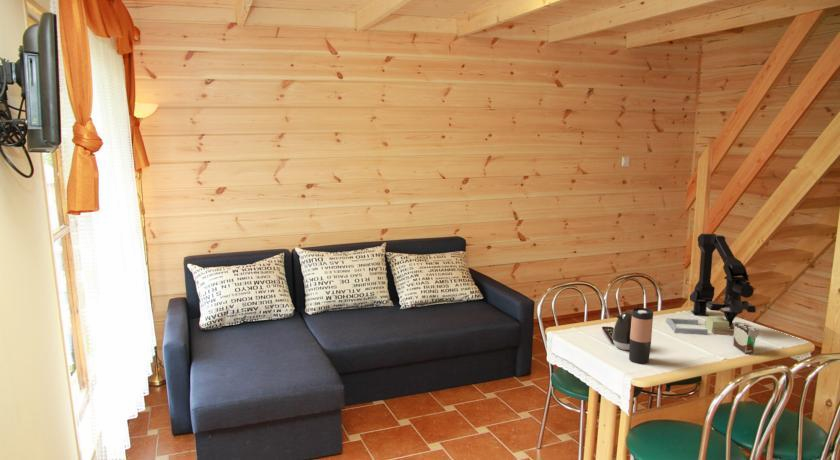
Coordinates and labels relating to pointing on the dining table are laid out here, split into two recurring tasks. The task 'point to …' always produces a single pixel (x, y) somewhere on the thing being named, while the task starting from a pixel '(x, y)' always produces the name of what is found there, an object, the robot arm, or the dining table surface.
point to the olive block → (716, 323)
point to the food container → (744, 337)
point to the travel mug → (640, 335)
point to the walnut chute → (724, 330)
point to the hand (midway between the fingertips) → (729, 325)
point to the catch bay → (676, 329)
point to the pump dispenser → (622, 331)
